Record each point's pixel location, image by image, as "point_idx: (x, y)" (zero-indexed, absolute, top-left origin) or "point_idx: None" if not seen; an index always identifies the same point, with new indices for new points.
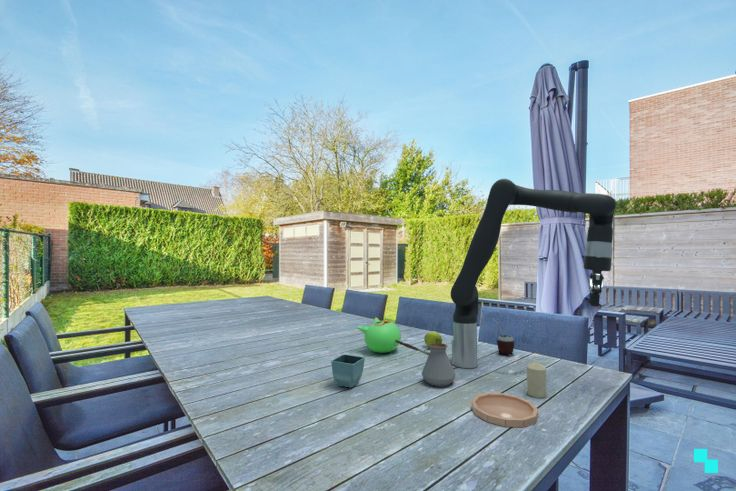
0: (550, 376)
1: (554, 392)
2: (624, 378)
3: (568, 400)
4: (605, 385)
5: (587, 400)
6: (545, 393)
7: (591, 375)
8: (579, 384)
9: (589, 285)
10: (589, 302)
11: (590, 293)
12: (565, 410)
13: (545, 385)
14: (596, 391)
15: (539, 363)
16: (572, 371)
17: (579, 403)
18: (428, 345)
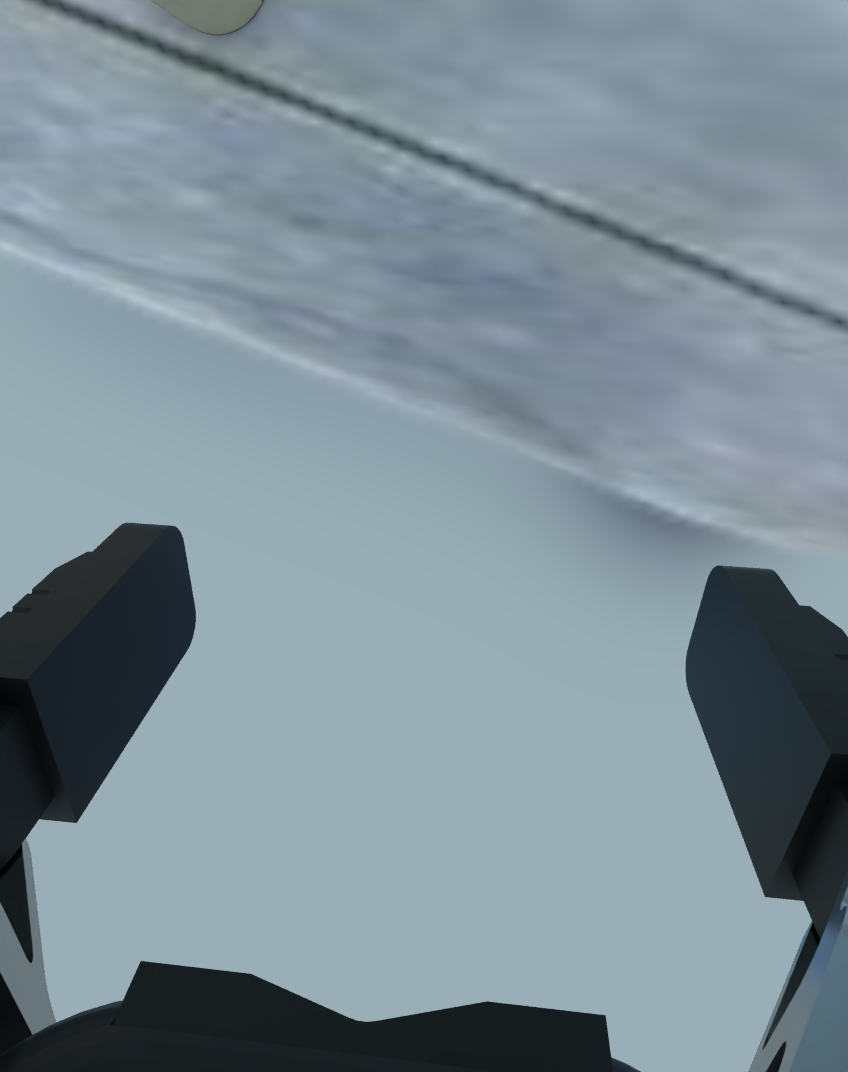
0: (645, 47)
1: (312, 89)
2: (764, 538)
3: (226, 178)
4: (583, 413)
5: (283, 284)
6: (185, 23)
7: (769, 356)
8: (539, 260)
9: (822, 996)
10: (718, 567)
11: (808, 737)
12: (78, 157)
13: (160, 6)
14: (452, 349)
15: None
16: (834, 228)
17: (216, 238)
18: None
